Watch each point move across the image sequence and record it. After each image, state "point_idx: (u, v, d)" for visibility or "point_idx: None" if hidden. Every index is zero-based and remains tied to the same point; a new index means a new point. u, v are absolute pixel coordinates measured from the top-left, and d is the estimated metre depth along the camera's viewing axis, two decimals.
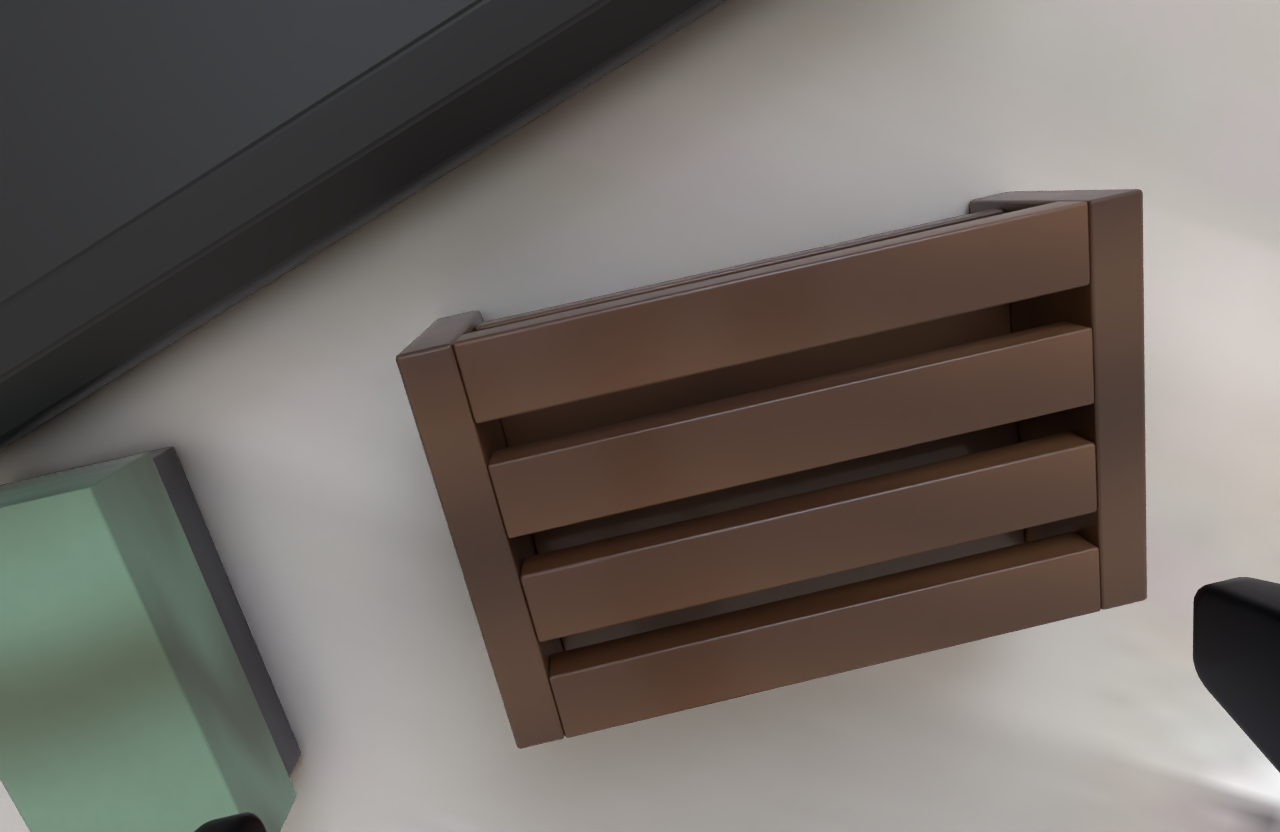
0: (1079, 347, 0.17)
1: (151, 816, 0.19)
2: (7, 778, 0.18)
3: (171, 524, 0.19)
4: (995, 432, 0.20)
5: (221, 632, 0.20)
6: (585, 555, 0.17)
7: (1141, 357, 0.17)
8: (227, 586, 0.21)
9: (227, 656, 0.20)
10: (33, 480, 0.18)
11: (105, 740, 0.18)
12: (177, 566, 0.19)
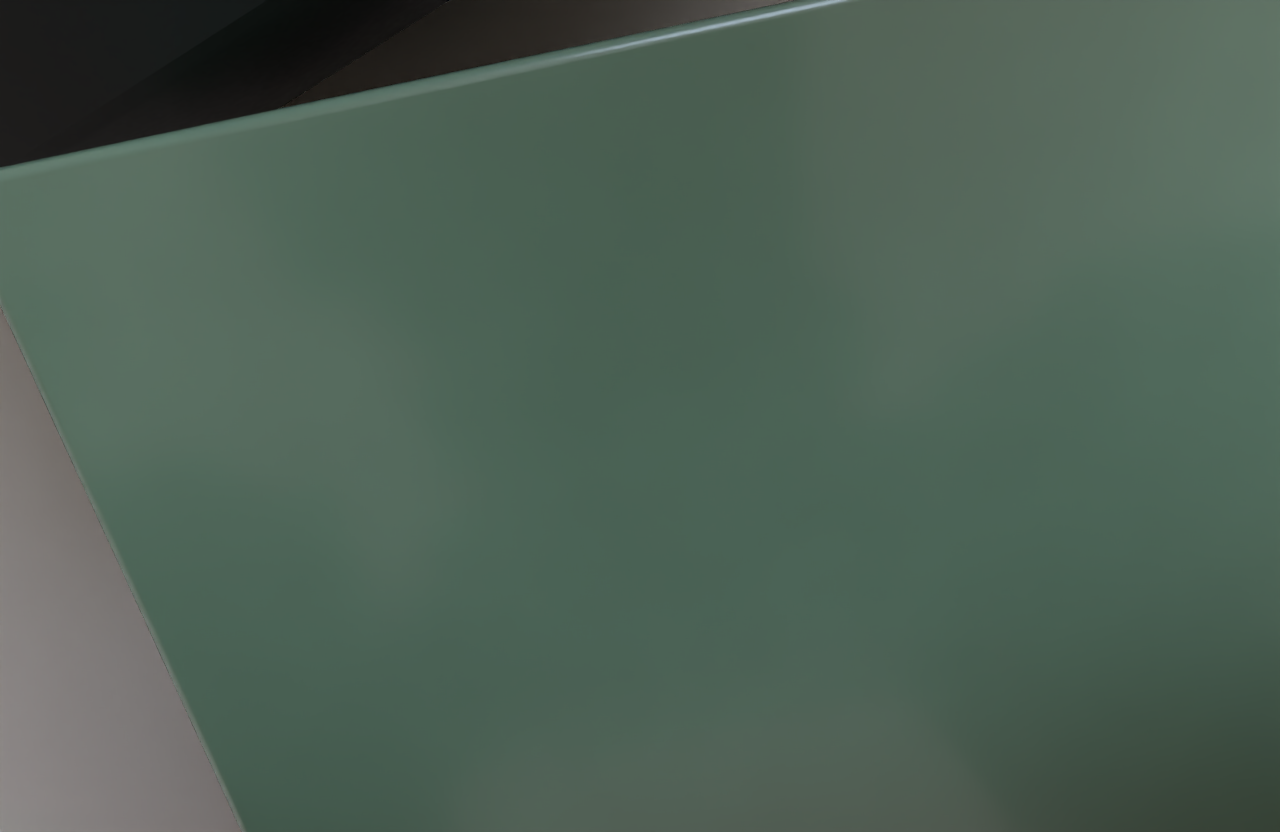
0: None
1: None
2: None
3: None
4: None
5: None
6: None
7: None
8: None
9: None
10: None
11: None
12: None
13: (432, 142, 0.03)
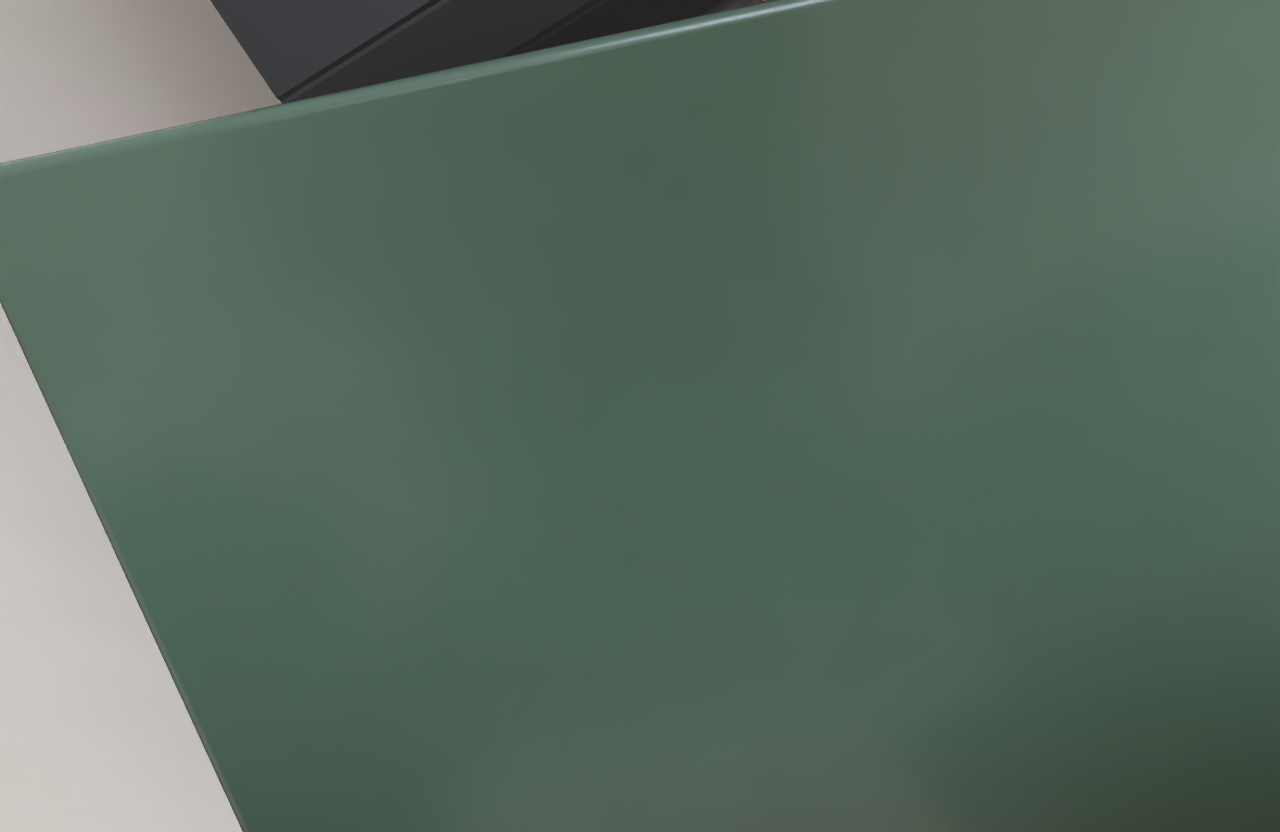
0: None
1: None
2: None
3: None
4: None
5: None
6: None
7: None
8: None
9: None
10: None
11: None
12: None
13: (431, 138, 0.03)
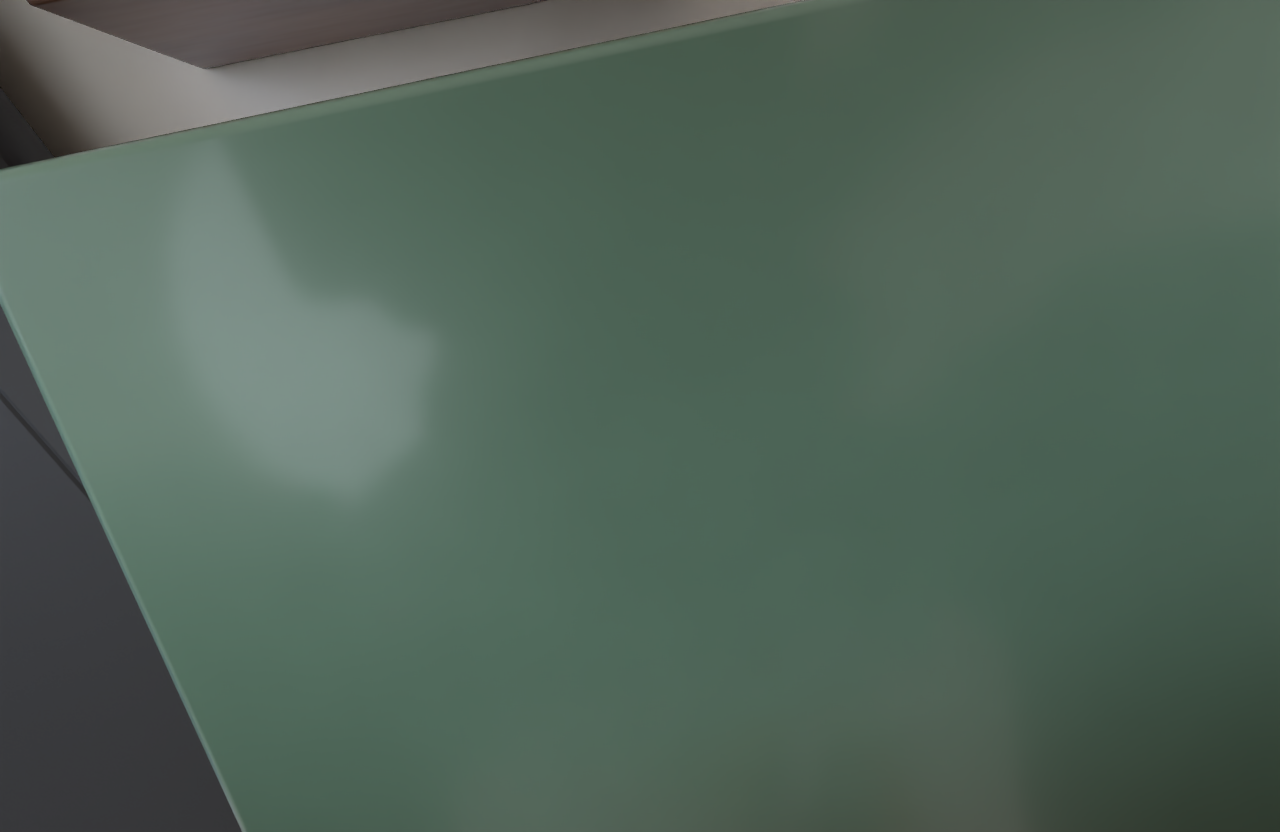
0: None
1: None
2: None
3: None
4: None
5: None
6: None
7: None
8: None
9: None
10: None
11: None
12: None
13: (433, 143, 0.03)
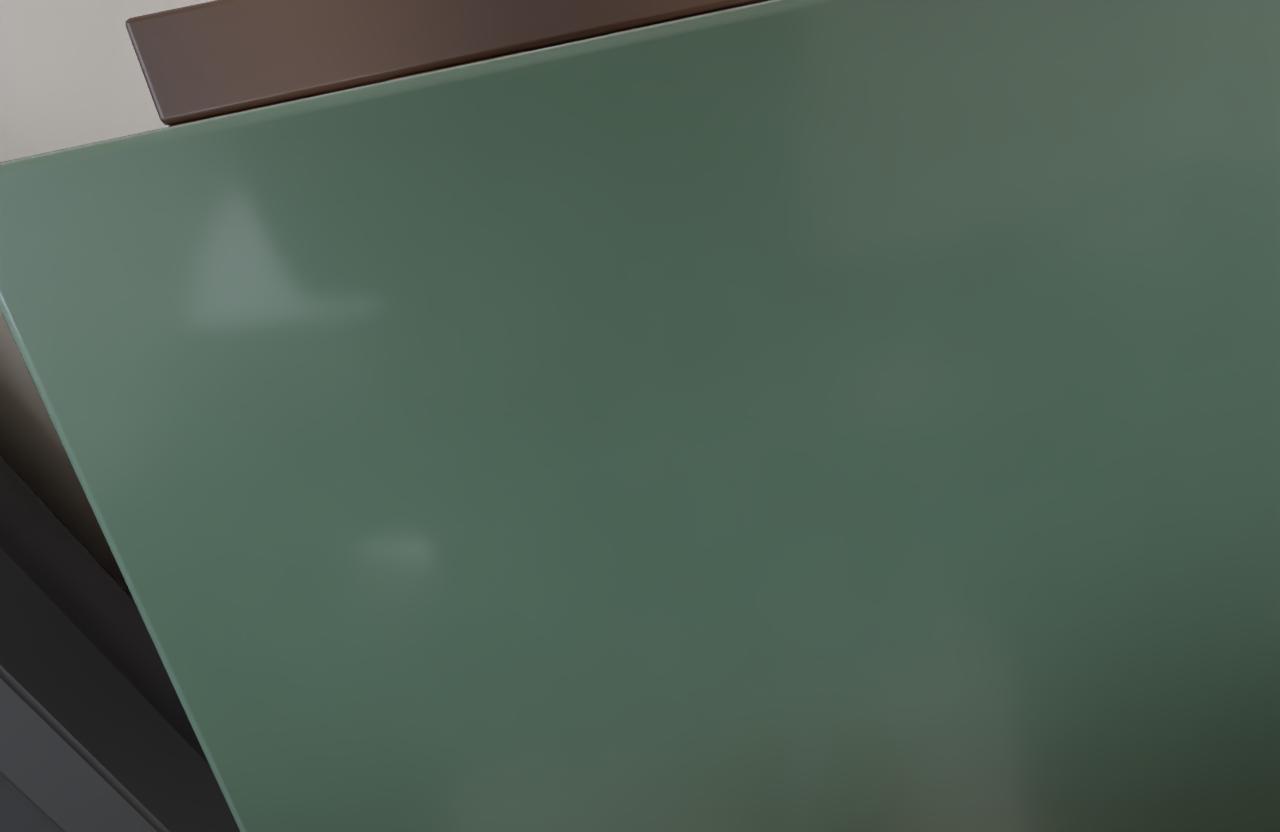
0: None
1: None
2: None
3: None
4: None
5: None
6: None
7: None
8: None
9: None
10: None
11: None
12: None
13: (430, 138, 0.03)
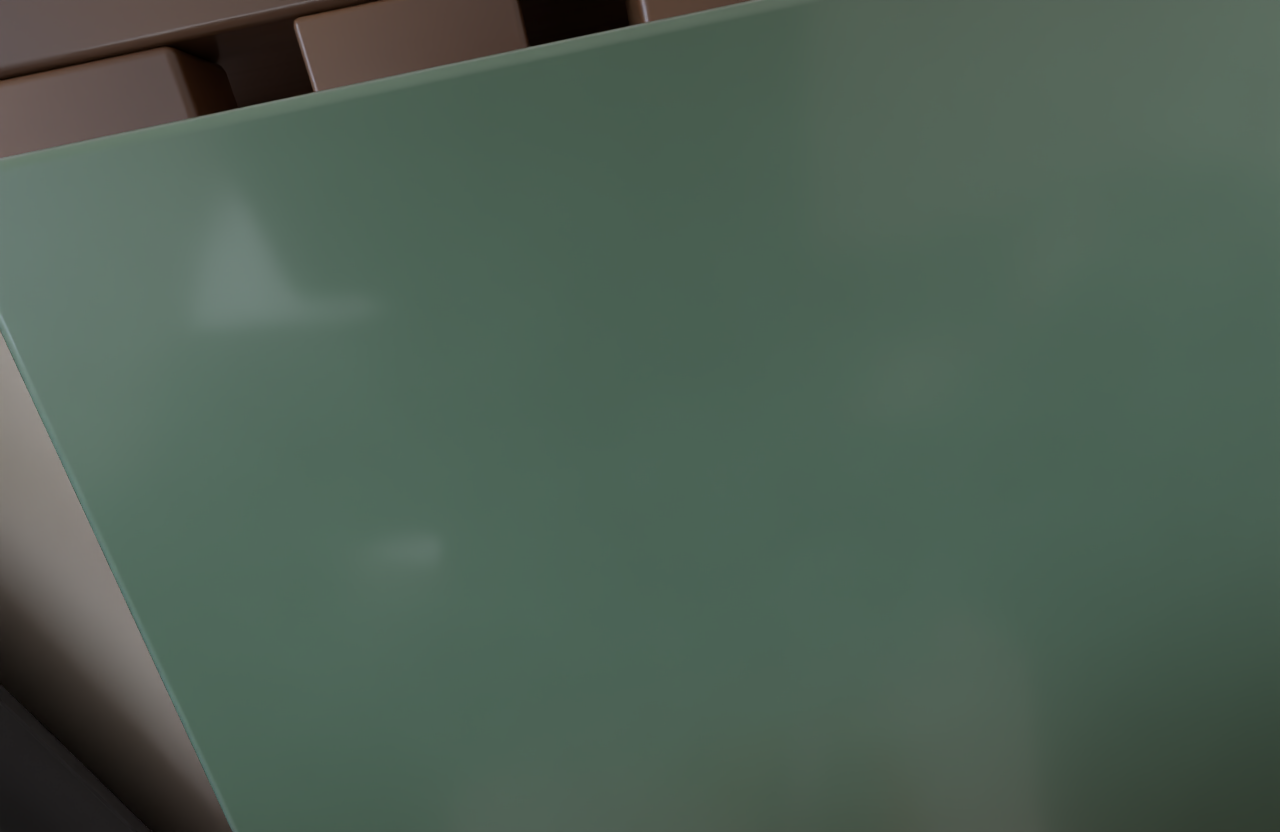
0: (349, 52, 0.06)
1: None
2: None
3: None
4: None
5: None
6: None
7: None
8: None
9: None
10: None
11: None
12: None
13: (434, 134, 0.03)
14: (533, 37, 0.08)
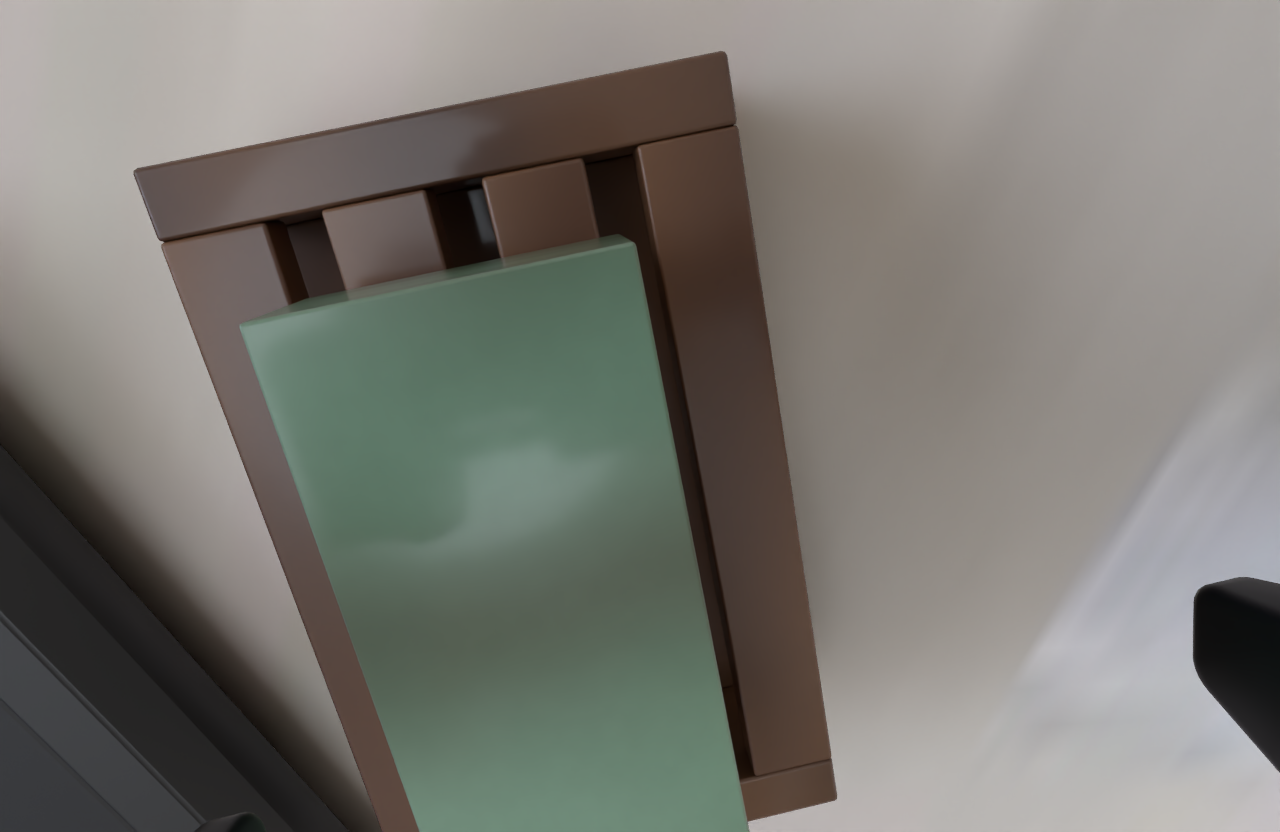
0: (348, 225, 0.13)
1: (615, 821, 0.12)
2: (406, 758, 0.11)
3: None
4: None
5: None
6: None
7: (356, 130, 0.12)
8: None
9: None
10: (447, 270, 0.11)
11: (570, 695, 0.11)
12: None
13: (374, 313, 0.09)
14: (449, 190, 0.15)
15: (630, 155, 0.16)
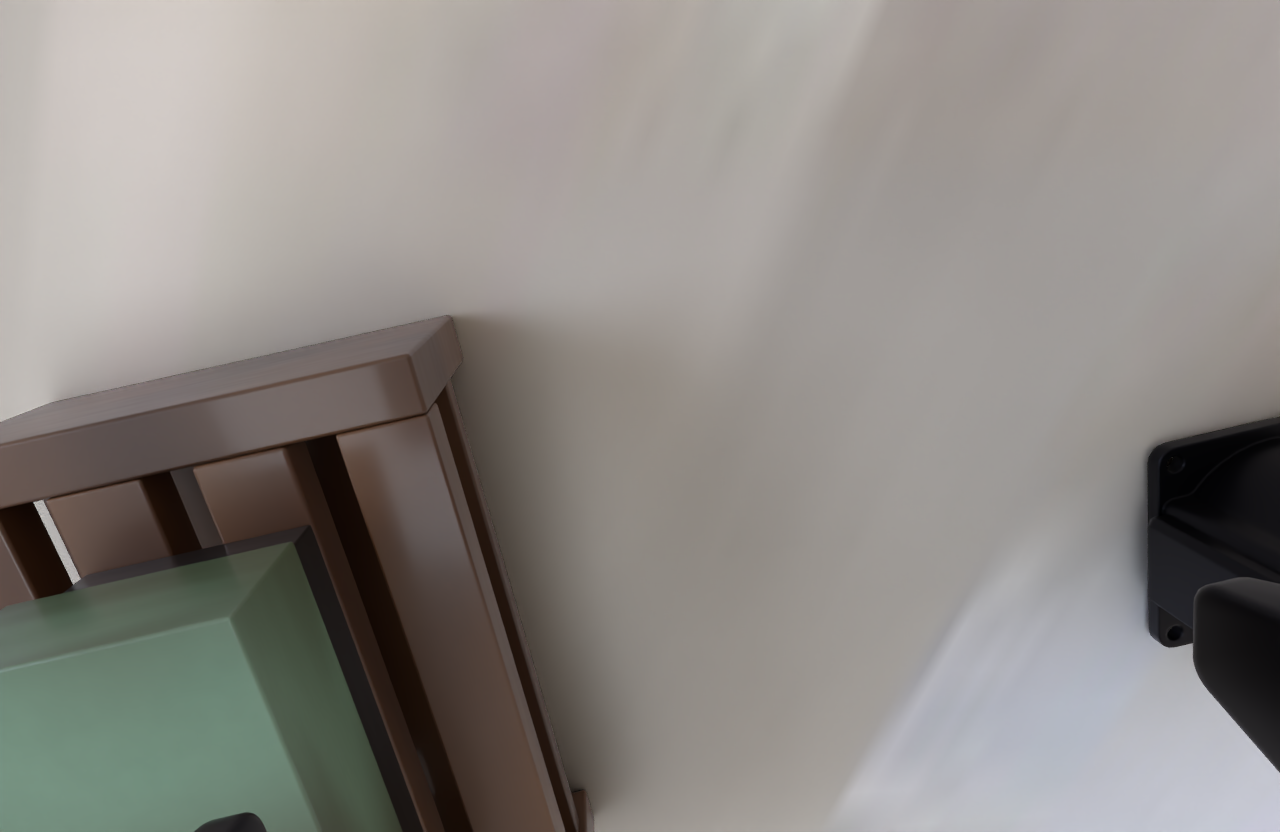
0: (71, 512, 0.14)
1: None
2: None
3: (322, 645, 0.13)
4: None
5: (380, 790, 0.14)
6: None
7: (69, 434, 0.14)
8: (376, 712, 0.15)
9: (389, 823, 0.14)
10: (126, 585, 0.12)
11: None
12: (332, 708, 0.13)
13: None
14: None
15: None
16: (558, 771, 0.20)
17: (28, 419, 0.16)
